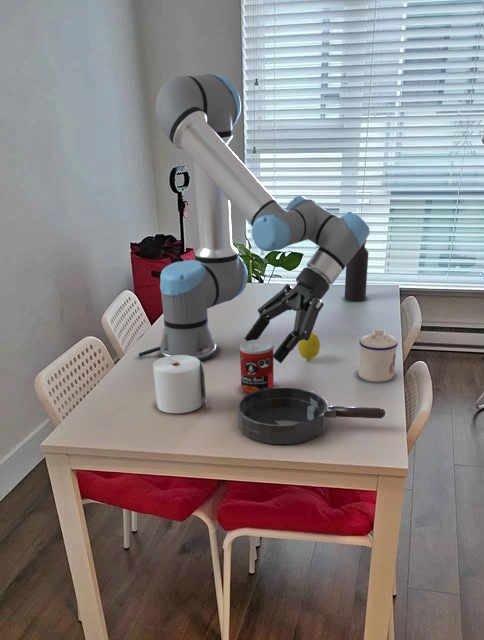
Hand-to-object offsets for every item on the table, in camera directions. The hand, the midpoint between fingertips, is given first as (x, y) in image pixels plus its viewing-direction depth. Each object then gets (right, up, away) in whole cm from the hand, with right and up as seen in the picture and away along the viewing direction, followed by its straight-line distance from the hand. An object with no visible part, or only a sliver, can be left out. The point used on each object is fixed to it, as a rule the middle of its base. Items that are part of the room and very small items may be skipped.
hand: (261, 350), depth 157 cm
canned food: (-1, -9, +4) cm, 10 cm away
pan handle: (+19, -17, -16) cm, 30 cm away
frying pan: (+4, -18, -12) cm, 22 cm away
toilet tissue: (-18, -13, -2) cm, 22 cm away
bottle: (+33, +29, +63) cm, 76 cm away
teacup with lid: (+29, -4, +10) cm, 30 cm away
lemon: (+13, +1, +18) cm, 23 cm away
